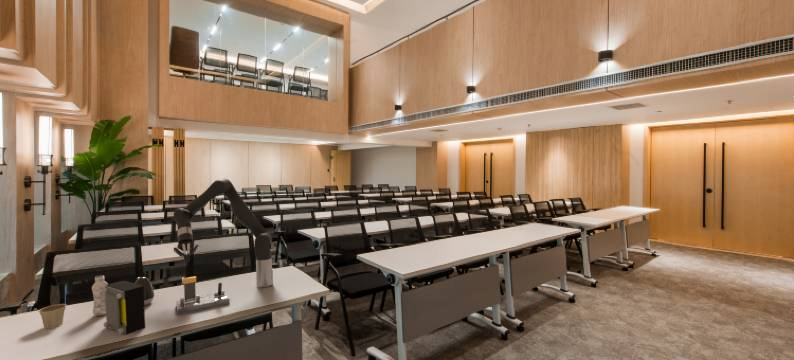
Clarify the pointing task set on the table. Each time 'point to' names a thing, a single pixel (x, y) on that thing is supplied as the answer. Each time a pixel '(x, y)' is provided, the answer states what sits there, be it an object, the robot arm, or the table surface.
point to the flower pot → (52, 315)
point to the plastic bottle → (99, 296)
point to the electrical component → (124, 307)
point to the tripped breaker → (189, 289)
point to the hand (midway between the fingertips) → (187, 261)
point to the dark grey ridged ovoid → (146, 289)
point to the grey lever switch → (203, 302)
